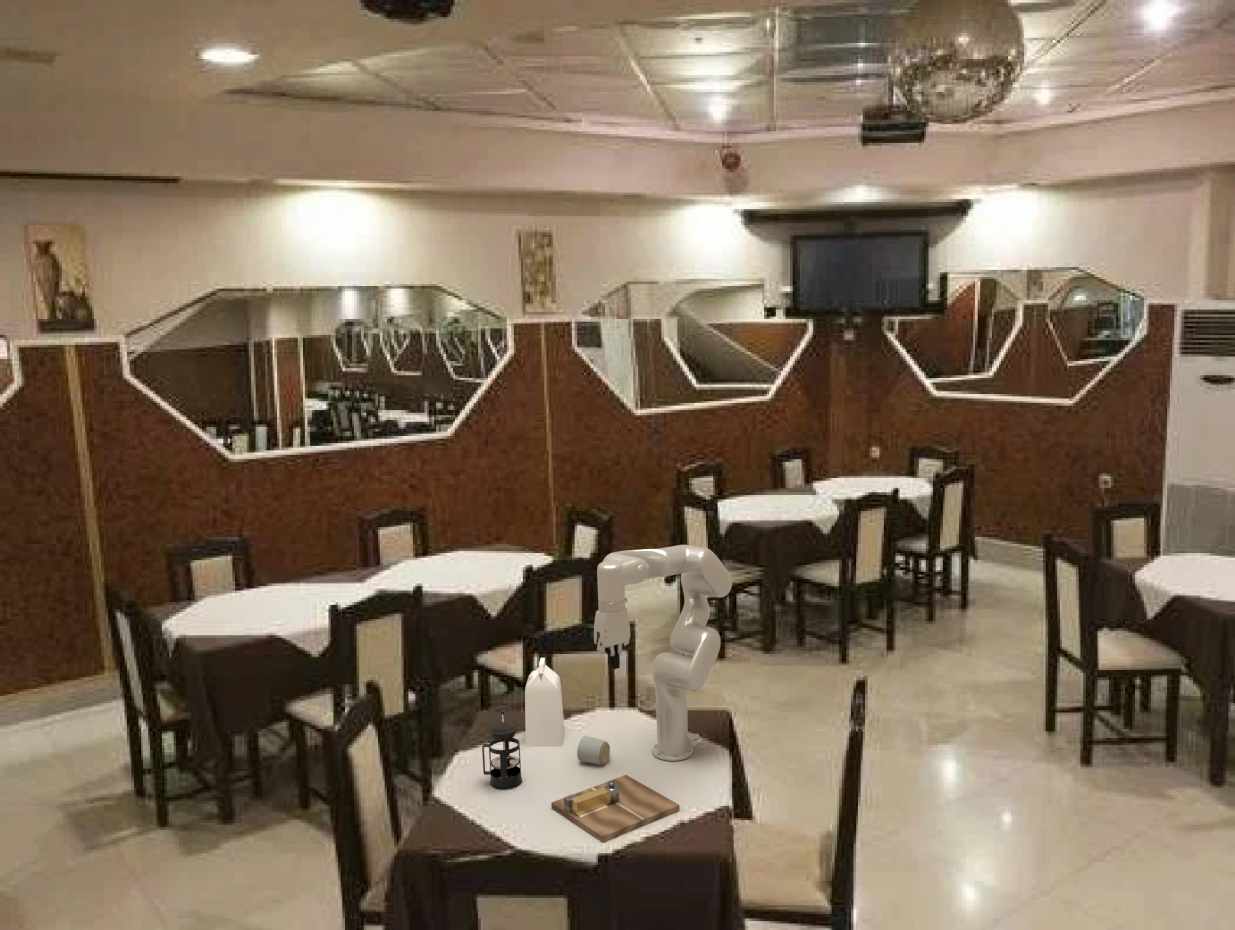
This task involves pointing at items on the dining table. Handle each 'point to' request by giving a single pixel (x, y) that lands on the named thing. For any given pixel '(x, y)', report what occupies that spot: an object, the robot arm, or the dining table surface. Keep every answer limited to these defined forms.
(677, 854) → the dining table surface
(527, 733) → the milk
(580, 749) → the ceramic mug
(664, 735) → the robot arm
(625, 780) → the board
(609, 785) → the pin cap
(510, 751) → the french press
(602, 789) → the bar
